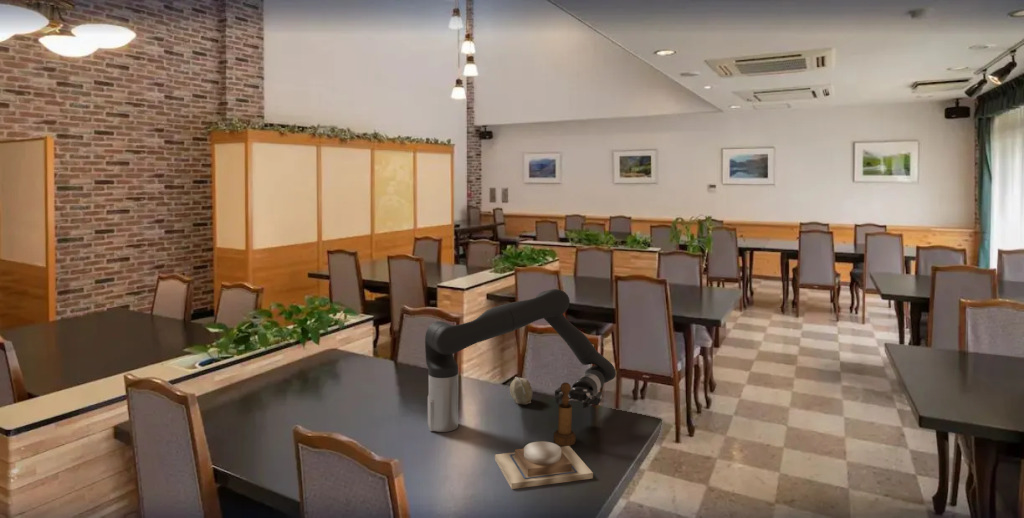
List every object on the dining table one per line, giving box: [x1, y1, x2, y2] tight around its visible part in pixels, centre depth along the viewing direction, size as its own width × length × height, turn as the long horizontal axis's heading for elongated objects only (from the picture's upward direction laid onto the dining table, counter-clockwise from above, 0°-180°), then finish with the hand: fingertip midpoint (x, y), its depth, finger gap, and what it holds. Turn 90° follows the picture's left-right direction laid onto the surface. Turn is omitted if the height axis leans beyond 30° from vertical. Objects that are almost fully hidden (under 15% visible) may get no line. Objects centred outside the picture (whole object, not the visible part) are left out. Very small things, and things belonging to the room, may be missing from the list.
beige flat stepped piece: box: [494, 441, 594, 490], centre depth 163 cm, size 22×17×6 cm
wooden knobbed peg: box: [553, 382, 576, 447], centre depth 180 cm, size 7×6×18 cm
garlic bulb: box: [509, 376, 533, 405], centre depth 213 cm, size 9×8×10 cm
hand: (571, 403), depth 185 cm, fingers open, 8 cm apart
